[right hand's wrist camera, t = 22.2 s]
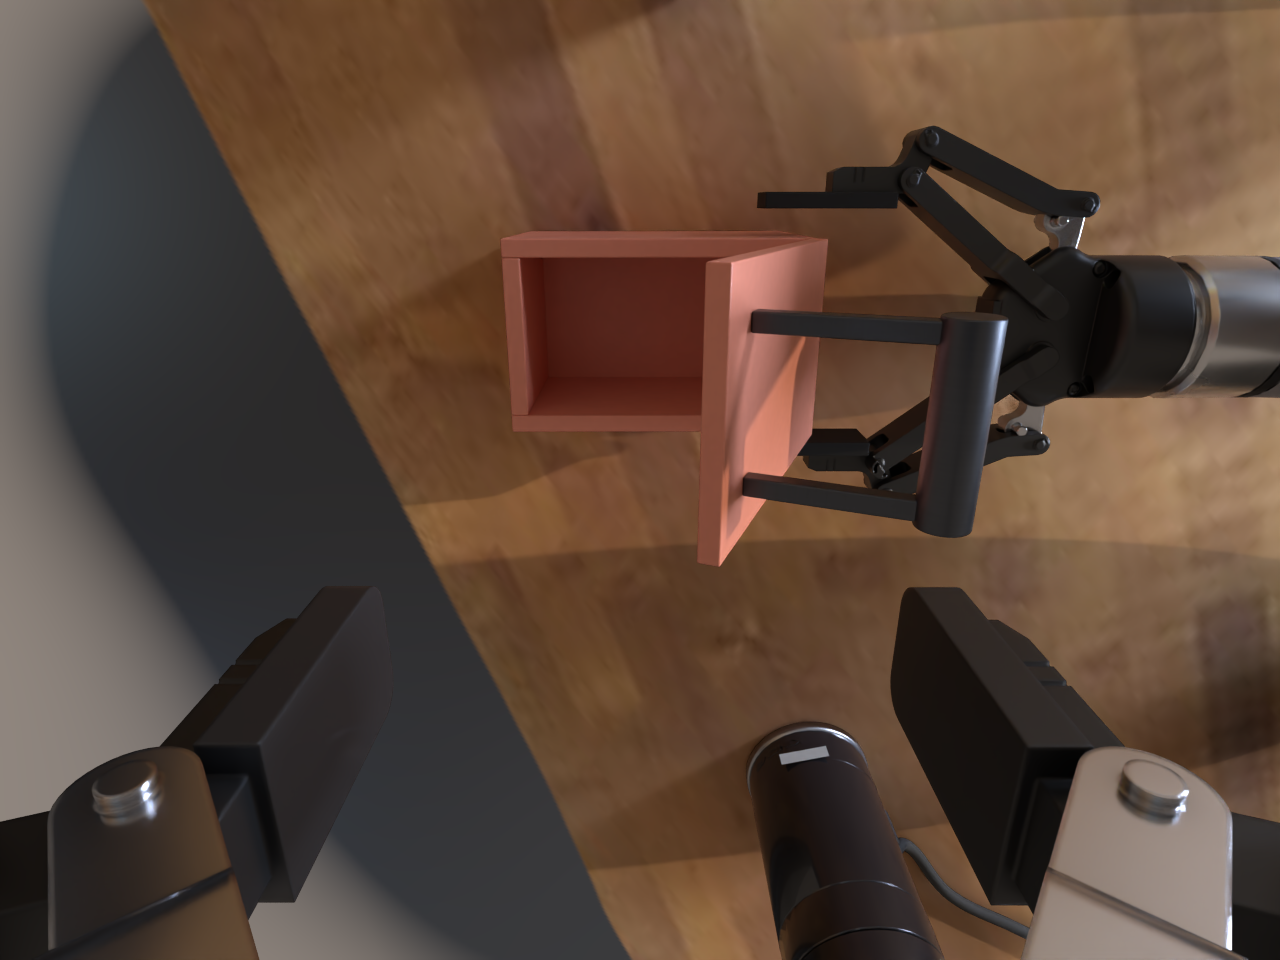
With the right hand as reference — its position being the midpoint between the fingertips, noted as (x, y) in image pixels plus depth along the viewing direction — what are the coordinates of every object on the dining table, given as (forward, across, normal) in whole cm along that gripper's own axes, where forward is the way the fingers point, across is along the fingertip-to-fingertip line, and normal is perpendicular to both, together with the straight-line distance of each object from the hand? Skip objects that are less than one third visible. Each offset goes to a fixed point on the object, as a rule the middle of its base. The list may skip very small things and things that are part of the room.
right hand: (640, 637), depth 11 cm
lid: (+19, -5, 0) cm, 20 cm away
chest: (+37, -1, 0) cm, 37 cm away
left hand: (+30, -6, 0) cm, 31 cm away
